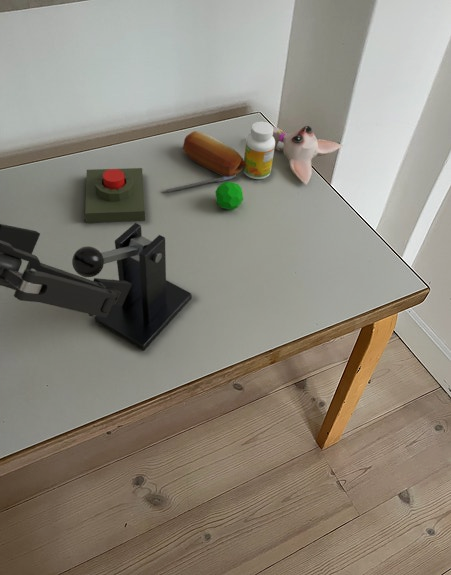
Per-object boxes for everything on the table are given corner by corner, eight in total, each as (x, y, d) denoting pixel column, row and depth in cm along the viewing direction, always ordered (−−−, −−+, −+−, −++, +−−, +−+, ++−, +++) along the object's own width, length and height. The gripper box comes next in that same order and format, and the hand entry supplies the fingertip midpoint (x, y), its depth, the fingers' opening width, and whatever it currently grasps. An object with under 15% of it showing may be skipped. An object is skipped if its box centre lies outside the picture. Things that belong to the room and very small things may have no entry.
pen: (166, 189, 104) (236, 173, 109) (166, 189, 105) (235, 174, 109) (168, 193, 104) (237, 177, 109) (167, 194, 105) (236, 178, 109)
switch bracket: (143, 351, 82) (139, 281, 71) (95, 322, 84) (82, 251, 73) (191, 298, 89) (194, 227, 78) (145, 273, 91) (141, 201, 80)
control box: (88, 179, 106) (85, 161, 103) (142, 177, 107) (141, 159, 104) (86, 223, 98) (83, 205, 95) (145, 220, 100) (144, 202, 97)
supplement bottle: (237, 169, 111) (241, 125, 103) (257, 159, 113) (263, 115, 106) (255, 183, 108) (261, 139, 101) (276, 173, 111) (283, 129, 103)
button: (103, 177, 101) (102, 169, 100) (124, 176, 102) (123, 168, 100) (103, 190, 99) (102, 182, 97) (124, 189, 99) (124, 181, 98)
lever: (86, 285, 66) (94, 256, 64) (62, 271, 67) (69, 243, 65) (153, 264, 78) (160, 240, 77) (132, 253, 79) (139, 229, 78)
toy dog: (285, 90, 115) (350, 124, 111) (278, 121, 121) (339, 154, 117) (244, 126, 107) (312, 164, 103) (239, 158, 114) (303, 194, 110)
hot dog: (230, 165, 104) (247, 150, 106) (175, 136, 109) (192, 122, 111) (231, 185, 108) (247, 170, 110) (178, 156, 113) (195, 142, 115)
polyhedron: (213, 196, 105) (215, 175, 102) (240, 196, 106) (242, 175, 102) (215, 215, 102) (217, 194, 98) (243, 215, 102) (245, 194, 99)
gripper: (-190, 227, 50) (-13, 251, 70) (20, 365, 42) (151, 347, 62) (-160, 147, 49) (10, 194, 69) (60, 273, 41) (180, 285, 61)
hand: (77, 267), depth 66 cm, fingers open, 13 cm apart
